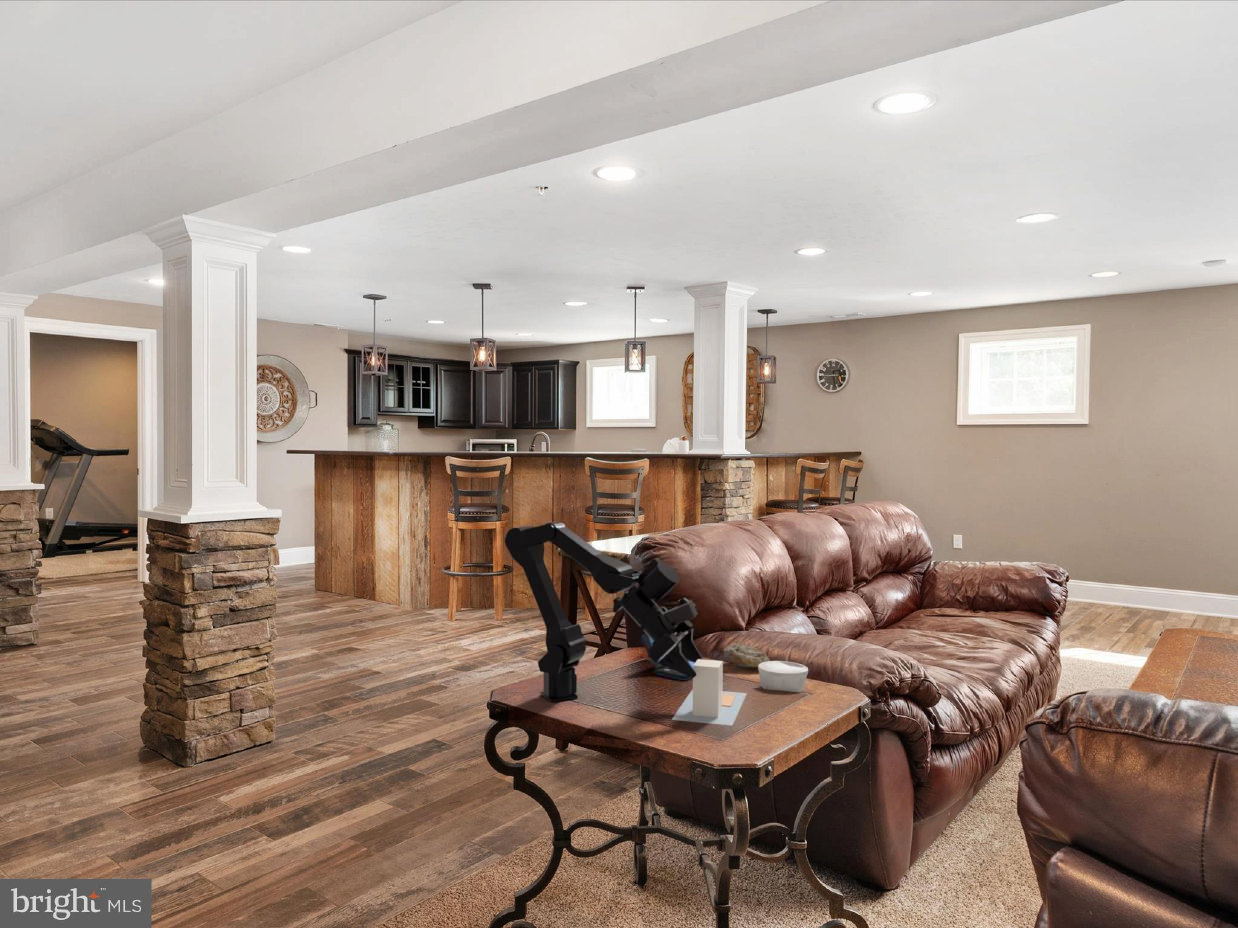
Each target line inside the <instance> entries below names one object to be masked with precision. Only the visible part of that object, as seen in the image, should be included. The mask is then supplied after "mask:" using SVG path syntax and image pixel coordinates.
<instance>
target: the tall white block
mask: <svg viewBox="0 0 1238 928" xmlns="http://www.w3.org/2000/svg"><path fill="white" fill-rule="evenodd" d="M723 665H724V661H723V660H715V659H713V660H712V659H711V660H710V659H703V660H702V659H698V660H697V661H696V662H695V664H694V665H693V669H694V671H695V672H696V674H697V675H696V676H695V677H694V678H692V689H693V715H698V716H708V717H719V715H720V713H721V711H722V691H724V689H723V685H724V684H723V683H724V680H723V678H724V677H723V676H724V675H723V673H724V670H723V669H724V666H723Z"/></svg>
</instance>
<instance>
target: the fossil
mask: <svg viewBox="0 0 1238 928" xmlns="http://www.w3.org/2000/svg"><path fill="white" fill-rule="evenodd" d="M722 652H723V656H724V658H725V659H727V660H728V661H729V662H730V663H731V664H732V665H736V667H738V668H741V669H749V668H758V665H759V664H760V663H763V662H767V661H771V660H770V658H769V657H768V655H766V654H765V653H764V652H763V651H761V650H759V649H758V648H756V647H753V646H752V645H750V644H746V643H743V642H733V643H729V644H727V646H726V647H724V648H723V649H722Z"/></svg>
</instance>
